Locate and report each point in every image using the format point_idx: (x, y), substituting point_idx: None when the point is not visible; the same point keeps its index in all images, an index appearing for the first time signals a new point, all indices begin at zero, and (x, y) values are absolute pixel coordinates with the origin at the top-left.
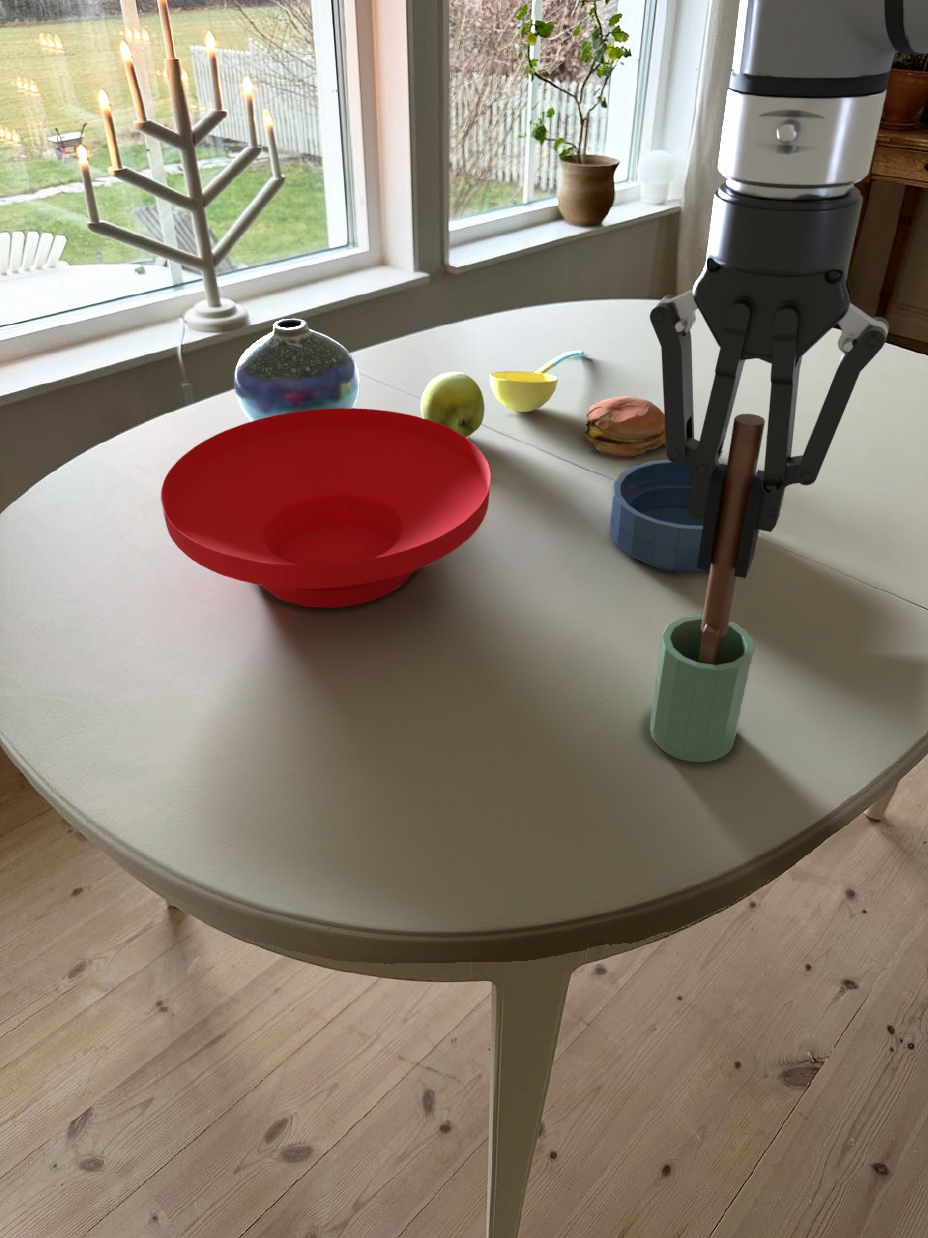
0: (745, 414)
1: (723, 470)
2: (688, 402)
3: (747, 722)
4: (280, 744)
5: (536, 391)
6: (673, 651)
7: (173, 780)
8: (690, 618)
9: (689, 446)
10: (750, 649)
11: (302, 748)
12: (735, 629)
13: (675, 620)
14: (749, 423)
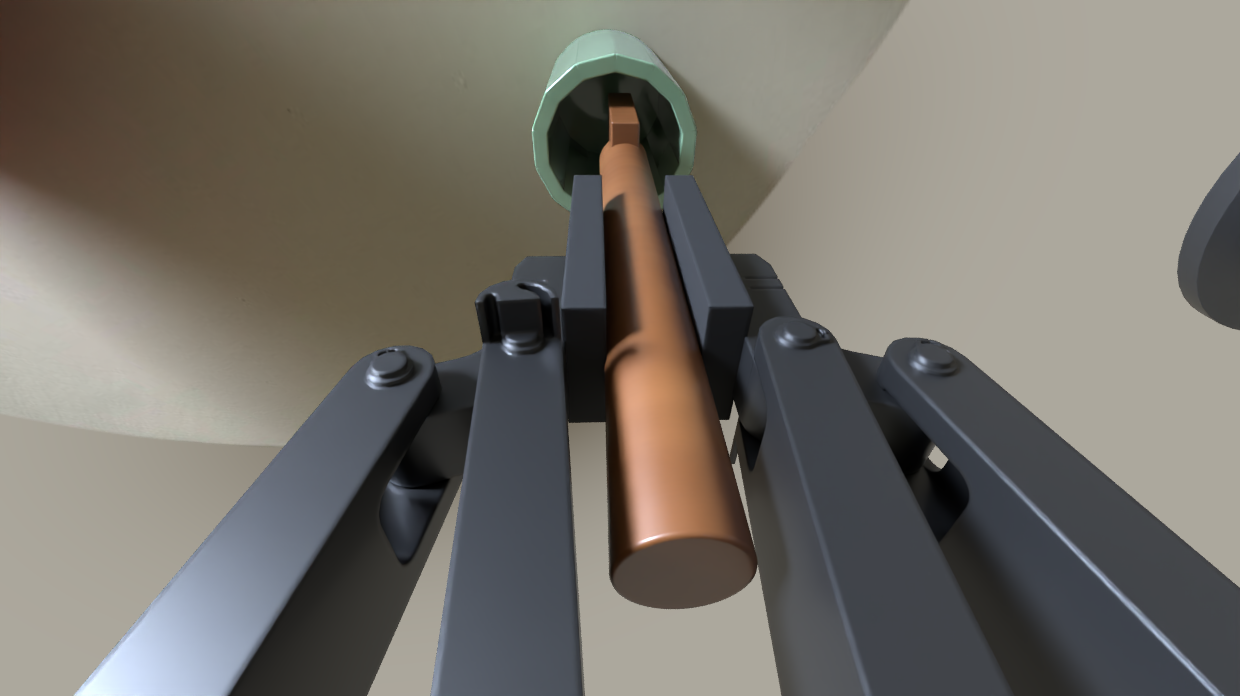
0: (656, 550)
1: (590, 350)
2: (343, 630)
3: (681, 33)
4: (192, 321)
5: None
6: (567, 202)
7: (166, 391)
8: (565, 86)
9: (456, 470)
10: (689, 143)
11: (217, 317)
12: (656, 86)
13: (540, 105)
14: (687, 602)
